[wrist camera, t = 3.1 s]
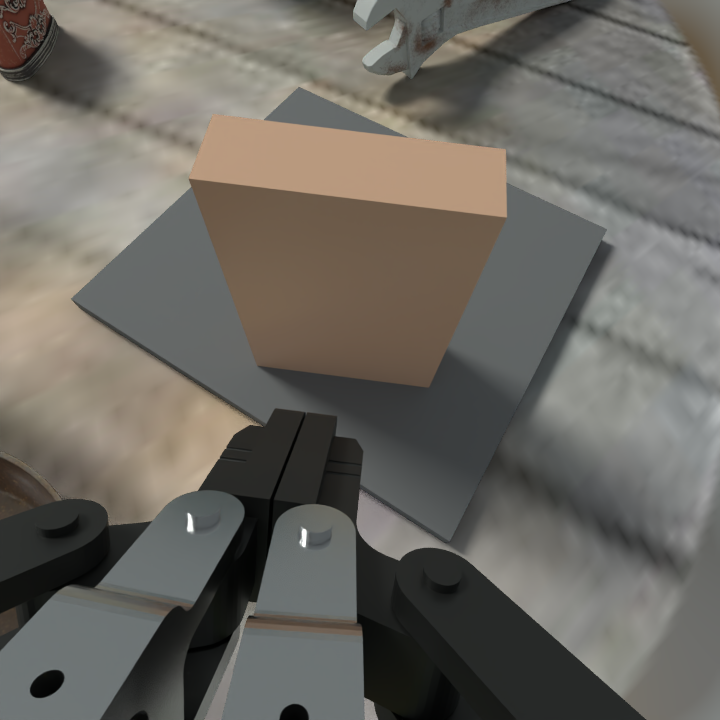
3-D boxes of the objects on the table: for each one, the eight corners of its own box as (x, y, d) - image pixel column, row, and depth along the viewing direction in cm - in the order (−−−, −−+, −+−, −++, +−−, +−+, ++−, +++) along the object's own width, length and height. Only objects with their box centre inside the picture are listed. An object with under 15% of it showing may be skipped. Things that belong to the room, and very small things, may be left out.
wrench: (578, 24, 50) (357, 100, 39) (565, 15, 51) (343, 88, 39) (624, -73, 44) (372, -17, 32) (609, -81, 44) (355, -29, 32)
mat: (78, 307, 30) (70, 298, 29) (300, 98, 39) (299, 87, 38) (445, 543, 25) (450, 541, 24) (599, 238, 34) (606, 229, 33)
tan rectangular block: (428, 387, 27) (507, 217, 15) (257, 365, 28) (188, 178, 15) (432, 336, 29) (505, 141, 16) (269, 315, 29) (216, 106, 16)
